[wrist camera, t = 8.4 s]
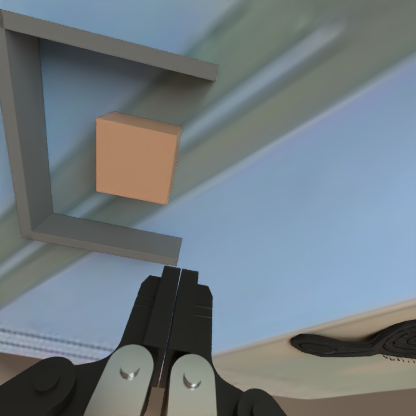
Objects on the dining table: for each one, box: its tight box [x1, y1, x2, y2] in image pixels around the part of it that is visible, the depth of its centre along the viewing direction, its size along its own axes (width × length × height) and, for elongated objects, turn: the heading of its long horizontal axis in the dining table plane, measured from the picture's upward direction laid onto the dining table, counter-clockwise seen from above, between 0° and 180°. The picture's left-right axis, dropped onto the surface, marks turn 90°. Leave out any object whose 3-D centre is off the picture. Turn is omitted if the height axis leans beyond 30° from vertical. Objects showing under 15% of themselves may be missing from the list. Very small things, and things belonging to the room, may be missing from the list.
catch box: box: [0, 9, 219, 266], centre depth 22 cm, size 18×15×4 cm
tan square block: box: [96, 112, 183, 205], centre depth 22 cm, size 6×6×4 cm
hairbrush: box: [291, 319, 416, 363], centre depth 34 cm, size 8×4×25 cm
